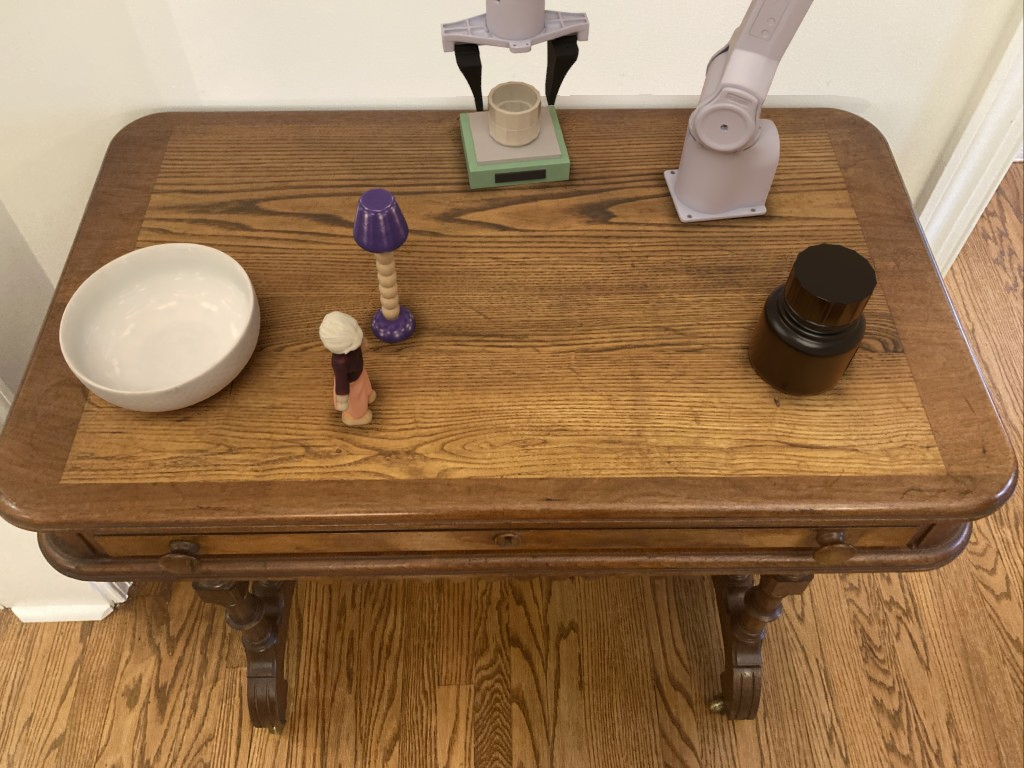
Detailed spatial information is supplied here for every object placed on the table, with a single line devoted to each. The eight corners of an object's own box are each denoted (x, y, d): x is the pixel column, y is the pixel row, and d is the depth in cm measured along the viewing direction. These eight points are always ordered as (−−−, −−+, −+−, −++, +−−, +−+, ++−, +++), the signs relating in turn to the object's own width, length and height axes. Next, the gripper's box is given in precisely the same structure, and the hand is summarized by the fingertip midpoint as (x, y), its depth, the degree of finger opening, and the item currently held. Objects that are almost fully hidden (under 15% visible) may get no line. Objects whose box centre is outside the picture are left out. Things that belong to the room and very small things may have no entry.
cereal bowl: (110, 294, 85) (82, 244, 79) (280, 288, 85) (264, 237, 79) (69, 441, 75) (33, 395, 69) (261, 433, 75) (242, 387, 70)
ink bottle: (865, 375, 80) (917, 289, 70) (795, 416, 77) (838, 333, 67) (793, 307, 84) (832, 217, 75) (725, 344, 82) (755, 256, 72)
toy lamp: (427, 317, 83) (413, 186, 70) (408, 353, 81) (390, 224, 67) (382, 304, 84) (359, 172, 70) (362, 339, 82) (334, 209, 68)
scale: (553, 123, 101) (554, 100, 98) (569, 181, 95) (571, 159, 92) (460, 131, 100) (459, 108, 97) (470, 190, 94) (469, 168, 91)
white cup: (534, 114, 97) (536, 79, 93) (543, 147, 93) (544, 112, 90) (485, 118, 96) (484, 83, 92) (492, 151, 93) (492, 116, 89)
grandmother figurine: (337, 377, 79) (312, 285, 69) (379, 374, 79) (361, 282, 69) (334, 448, 75) (307, 361, 64) (379, 445, 75) (359, 358, 64)
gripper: (443, 9, 77) (450, 132, 88) (600, -3, 79) (588, 120, 90) (435, -32, 81) (444, 91, 93) (585, -43, 83) (575, 79, 94)
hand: (514, 102), depth 91 cm, fingers open, 7 cm apart
